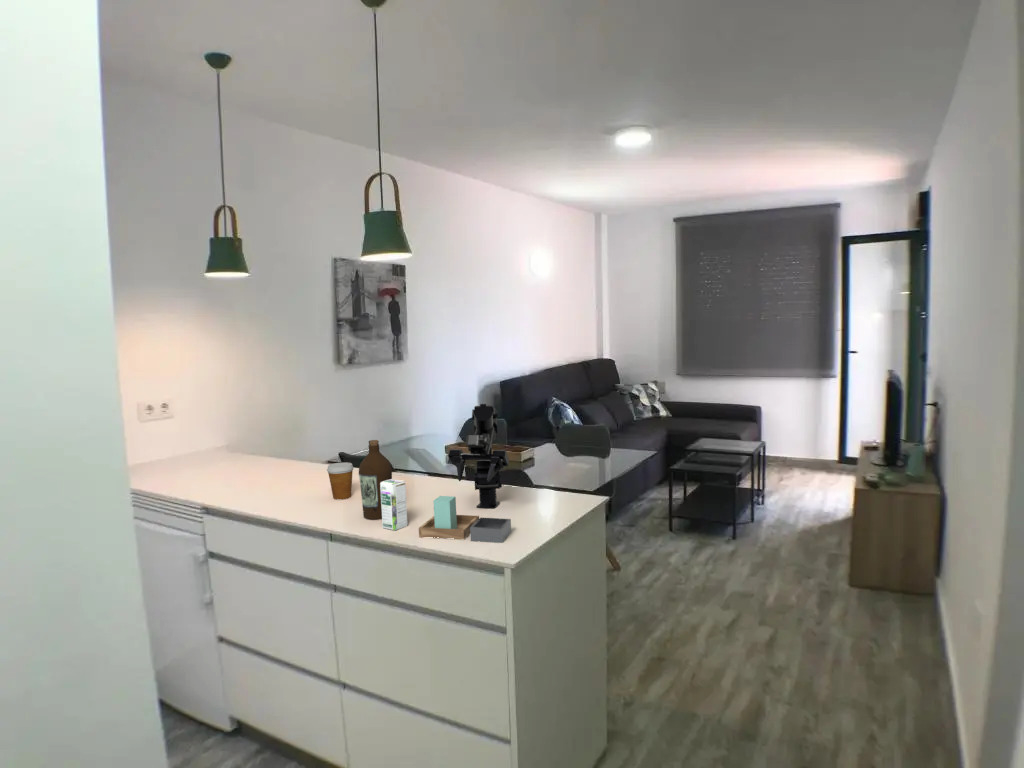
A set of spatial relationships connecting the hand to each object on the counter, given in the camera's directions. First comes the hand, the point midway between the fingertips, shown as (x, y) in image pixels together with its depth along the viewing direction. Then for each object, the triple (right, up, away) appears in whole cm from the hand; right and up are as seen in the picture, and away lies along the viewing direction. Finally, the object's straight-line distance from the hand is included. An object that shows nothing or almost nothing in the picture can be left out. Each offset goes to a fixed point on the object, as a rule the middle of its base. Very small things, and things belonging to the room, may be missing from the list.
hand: (473, 480), depth 206 cm
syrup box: (-24, -15, +2) cm, 28 cm away
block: (-8, -14, -7) cm, 17 cm away
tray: (-7, -14, -4) cm, 16 cm away
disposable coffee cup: (-50, -12, +39) cm, 65 cm away
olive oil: (-32, -14, +14) cm, 38 cm away
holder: (+6, -15, -11) cm, 19 cm away
